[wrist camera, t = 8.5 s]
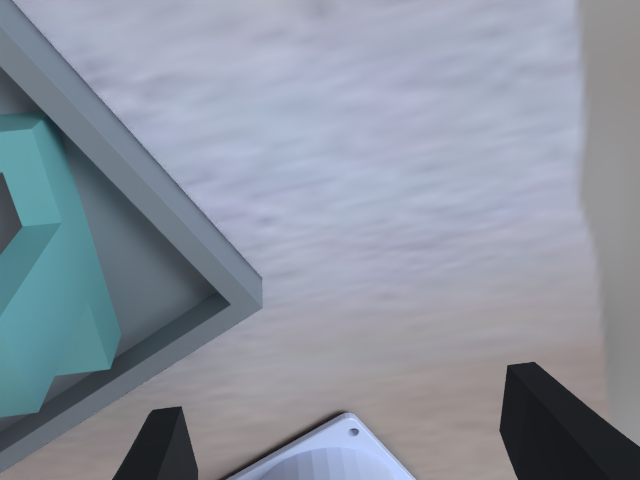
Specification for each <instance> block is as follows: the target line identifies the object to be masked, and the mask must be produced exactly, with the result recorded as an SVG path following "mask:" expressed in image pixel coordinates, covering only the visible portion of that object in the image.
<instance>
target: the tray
mask: <svg viewBox="0 0 640 480" xmlns="http://www.w3.org/2000/svg"><path fill="white" fill-rule="evenodd" d="M42 110H43V111H44V112H45V113H46V114H47V115H48V116H49V117H50V118H51V119H52V120H53V121H54V122H55V123H56V124H57V125H58V126H59V130H60V133H61V136H62V140H63V143H64V146H65V150H66V153H67V156H68V160H69V163H70V166H71V169H72V173H73V176H74V179H75V183H76V186H77V189H78V193H79V196H80V199H81V203H82V206H83V209H84V213H85V216H86V219H87V222H88V226H89V229H90V232H91V236H92V239H93V242H94V246H95V249H96V252H97V256H98V259H99V262H100V266H101V269H102V272H103V275H104V279H105V282H106V285H107V289H108V292H109V295H110V299H111V302H112V305H113V309H114V312H115V315H116V319H117V322H118V325H119V328H120V332H121V337H120V340H119V344H118V347H117V350H116V353H115V356H114V359H113V362H112V365H111V368H110V369H108V370H100V371H91V372H83V373H75V374H66V375H58V376H54V379H53V381H52V383H51V385H50V388H49V390H48V392H47V394H46V397H45V399H44V401H43V403H42V405H41V408H40V410H39V412H38V413H31V414H23V415H14V416H6V417H0V473H1V472H3V471H4V470H6V469H8V468H9V467H11V466H12V465H14V464H15V463H17V462H19V461H20V460H22V459H23V458H25V457H27V456H28V455H30V454H31V453H33V452H35V451H36V450H38V449H39V448H41V447H42V446H44V445H46V444H47V443H49V442H50V441H52V440H54V439H55V438H57V437H58V436H60V435H62V434H63V433H65V432H66V431H68V430H69V429H71V428H73V427H74V426H76V425H77V424H79V423H81V422H82V421H84V420H85V419H87V418H88V417H90V416H92V415H93V414H95V413H96V412H98V411H100V410H101V409H103V408H104V407H106V406H108V405H109V404H111V403H112V402H114V401H115V400H117V399H119V398H120V397H122V396H123V395H125V394H127V393H128V392H130V391H131V390H133V389H135V388H136V387H138V386H139V385H141V384H142V383H144V382H146V381H147V380H149V379H150V378H152V377H154V376H155V375H157V374H158V373H160V372H162V371H163V370H165V369H166V368H168V367H169V366H171V365H173V364H174V363H176V362H177V361H179V360H181V359H182V358H184V357H185V356H187V355H189V354H190V353H192V352H193V351H195V350H196V349H198V348H200V347H201V346H203V345H204V344H206V343H208V342H209V341H211V340H212V339H214V338H215V337H217V336H219V335H220V334H222V333H223V332H225V331H227V330H228V329H230V328H231V327H233V326H235V325H236V324H238V323H239V322H241V321H242V320H244V319H246V318H247V317H249V316H250V315H252V314H254V313H255V312H257V311H258V310H260V309H262V308H263V303H262V278H261V277H260V275H259V274H258V273H257V272H256V271H255V270H254V269H253V268H252V267H251V265H250V264H249V263H248V262H247V261H246V260H245V259H244V258H243V257H242V255H241V254H240V253H239V252H238V251H237V250H236V249H235V248H234V247H233V245H232V244H231V243H230V242H229V241H228V240H227V239H226V238H225V237H224V235H223V234H222V233H221V232H220V231H219V230H218V229H217V228H216V227H215V225H214V224H213V223H212V222H211V221H210V220H209V219H208V218H207V217H206V215H205V214H204V213H203V212H202V211H201V210H200V209H199V208H198V207H197V205H196V204H195V203H194V202H193V201H192V200H191V199H190V198H189V197H188V195H187V194H186V193H185V192H184V191H183V190H182V189H181V188H180V187H179V185H178V184H177V183H176V182H175V181H174V180H173V179H172V178H171V177H170V175H169V174H168V173H167V172H166V171H165V170H164V169H163V168H162V167H161V165H160V164H159V163H158V162H157V161H156V160H155V159H154V158H153V157H152V155H151V154H150V153H149V152H148V151H147V150H146V149H145V148H144V147H143V145H142V144H141V143H140V142H139V141H138V140H137V139H136V138H135V137H134V135H133V134H132V133H131V132H130V131H129V130H128V129H127V128H126V127H125V125H124V124H123V123H122V122H121V121H120V120H119V119H118V118H117V117H116V115H115V114H114V113H113V112H112V111H111V110H110V109H109V108H108V107H107V105H106V104H105V103H104V102H103V101H102V100H101V99H100V98H99V97H98V96H97V94H96V93H95V92H94V91H93V90H92V89H91V88H90V87H89V86H88V84H87V83H86V82H85V81H84V80H83V79H82V78H81V77H80V76H79V74H78V73H77V72H76V71H75V70H74V69H73V68H72V67H71V66H70V64H69V63H68V62H67V61H66V60H65V59H64V58H63V57H62V56H61V54H60V53H59V52H58V51H57V50H56V49H55V48H54V47H53V46H52V44H51V43H50V42H49V41H48V40H47V39H46V38H45V37H44V36H43V34H42V33H41V32H40V31H39V30H38V29H37V28H36V27H35V26H34V24H33V23H32V22H31V21H30V20H29V19H28V18H27V17H26V16H25V14H24V13H23V12H22V11H21V10H20V9H19V8H18V7H17V6H16V4H15V3H14V2H13V1H12V0H0V114H10V113H21V112H31V111H42ZM22 227H23V226H22V224H21V221H20V218H19V216H18V213H17V210H16V207H15V205H14V202H13V199H12V196H11V194H10V191H9V188H8V186H7V183H6V180H5V177H4V175H3V172H2V173H0V255H1V254H2V252H3V251H4V250H5V248H6V247H7V246H8V245H9V243H10V242H11V241H12V239H13V238H14V237H15V236H16V234H17V233H18V232H19V230H20V229H21V228H22Z"/></svg>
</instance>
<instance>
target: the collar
mask: <svg viewBox="0 0 640 480" xmlns="http://www.w3.org/2000/svg"><path fill="white" fill-rule="evenodd" d="M2 172H3V175H4V177H5V180H6V183H7V186H8V188H9V191H10V194H11V196H12V199H13V202H14V205H15V207H16V210H17V213H18V216H19V218H20V221H21V224H22V226H23V227H22V228H21V229H20V230H19V232H18V233H17V234H16V236H15V237H14V238H13V239H12V241H11V242H10V243H9V245H8V246H7V247H6V248H5V250H4V251H3V252H2V254H1V255H0V417H6V416H14V415H23V414H31V413H38V412H39V410H40V408H41V405H42V403H43V401H44V399H45V397H46V394H47V392H48V390H49V388H50V385H51V383H52V381H53V379H54V376H58V375H66V374H75V373H83V372H91V371H100V370H108V369H110V368H111V365H112V362H113V359H114V356H115V353H116V350H117V347H118V344H119V340H120V337H121V332H120V328H119V325H118V322H117V319H116V315H115V312H114V309H113V305H112V302H111V299H110V295H109V292H108V289H107V285H106V282H105V279H104V275H103V272H102V269H101V266H100V262H99V259H98V256H97V252H96V249H95V246H94V242H93V239H92V236H91V232H90V229H89V226H88V222H87V219H86V216H85V213H84V209H83V206H82V203H81V199H80V196H79V193H78V189H77V186H76V183H75V179H74V176H73V173H72V169H71V166H70V163H69V160H68V156H67V153H66V150H65V146H64V143H63V140H62V136H61V133H60V130H59V126H58V125H57V124H56V123H55V122H54V121H53V120H52V119H51V118H50V117H49V116H48V115H47V114H46V113H45V112H44V111H43V110H42V111H31V112H21V113H10V114H0V173H2Z"/></svg>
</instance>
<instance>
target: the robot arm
mask: <svg viewBox="0 0 640 480" xmlns="http://www.w3.org/2000/svg"><path fill="white" fill-rule="evenodd" d="M353 428H356V429H354V430H350V429H353ZM500 433H501V436H502V439H503V442H504V445H505V447H506V450H507V453H508V456H509V458H510V461H511V463H512V466H513V469H514V471H515V474H516V476H517V478H518V480H640V447H639V446H638V445H636V444H635V443H634V442H632V441H631V440H630V439H629V438H627V437H626V436H625V435H623V434H622V433H621V432H619V431H618V430H617V429H615V428H614V427H613V426H612V425H610V424H609V423H608V422H607V421H605V420H604V419H603V418H601V417H600V416H599V415H598V414H596V413H595V412H594V411H593V410H591V409H590V408H589V407H588V406H587V405H585V404H584V403H583V402H582V401H581V400H579V399H578V398H577V397H576V396H575V395H573V394H572V393H571V392H570V391H569V390H567V389H566V388H565V387H564V386H563V385H561V384H560V383H559V382H558V381H557V380H555V379H554V378H553V377H552V376H551V375H549V374H548V373H547V372H546V371H545V370H543V369H542V368H541V367H540V366H539V365H537V364H536V363H535V362H529V363H522V364H514V365H508V366H507V374H506V382H505V390H504V398H503V406H502V414H501V423H500ZM112 480H198V468H197V464H196V461H195V457H194V453H193V449H192V445H191V441H190V437H189V434H188V430H187V426H186V422H185V418H184V414H183V410H182V407H181V406H180V407H172V408H164V409H156V410H152V412H151V413H150V414H149V415H148V417H147V419H146V421H145V423H144V425H143V427H142V428H141V430H140V432H139V434H138V436H137V438H136V440H135V441H134V443H133V445H132V447H131V449H130V450H129V452H128V454H127V456H126V457H125V459H124V461H123V463H122V464H121V466H120V468H119V469H118V471H117V473H116V474H115V476H114V478H113V479H112ZM226 480H416V479H415V478H414V477H413V476H412V475H411V474H410V473H409V472H408V471H407V470H406V468H405V467H404V466H403V465H402V464H401V463H400V462H399V461H398V460H397V459H396V458H395V457H394V456H393V455H392V454H391V453H390V452H389V450H388V449H387V448H386V447H385V446H384V445H383V444H382V443H381V442H380V441H379V440H378V439H377V438H376V437H375V436H374V435H373V434H372V432H371V431H370V430H369V429H368V428H367V427H366V426H365V425H364V424H363V423H362V422H361V421H360V420H359V419H358V418H357V417H356V416H355V415H354V414H352V413H344V414H341V415H339V416H337V417H336V418H334V419H332V420H330V421H329V422H327V423H325V424H323V425H321V426H320V427H318V428H316V429H314V430H313V431H311V432H309V433H307V434H306V435H304V436H302V437H300V438H298V439H297V440H295V441H293V442H291V443H290V444H288V445H286V446H284V447H283V448H281V449H279V450H277V451H275V452H274V453H272V454H270V455H268V456H267V457H265V458H263V459H261V460H260V461H258V462H256V463H254V464H252V465H251V466H249V467H247V468H245V469H244V470H242V471H240V472H238V473H237V474H235V475H233V476H231V477H229V478H228V479H226Z"/></svg>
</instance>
